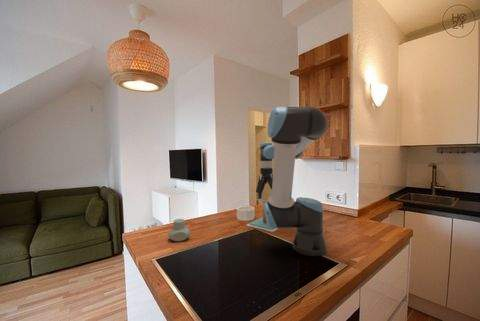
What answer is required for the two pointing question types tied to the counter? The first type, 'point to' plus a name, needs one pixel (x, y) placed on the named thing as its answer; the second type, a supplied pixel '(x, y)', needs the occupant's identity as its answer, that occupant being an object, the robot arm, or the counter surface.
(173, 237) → the air freshener
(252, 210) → the bowl
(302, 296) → the counter surface
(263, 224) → the lid
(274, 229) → the mat
